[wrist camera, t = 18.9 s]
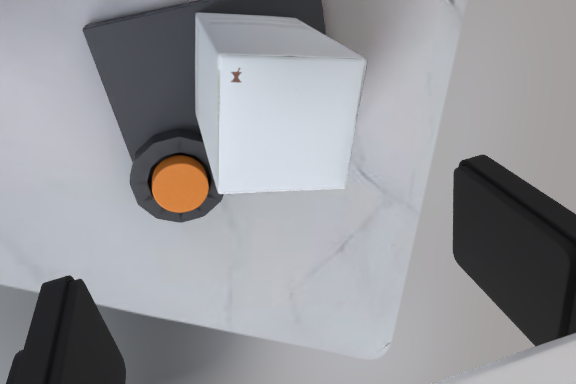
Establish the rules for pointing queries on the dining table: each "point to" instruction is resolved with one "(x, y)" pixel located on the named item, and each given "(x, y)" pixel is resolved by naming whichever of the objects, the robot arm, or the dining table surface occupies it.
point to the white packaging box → (275, 103)
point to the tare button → (179, 184)
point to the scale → (168, 84)
